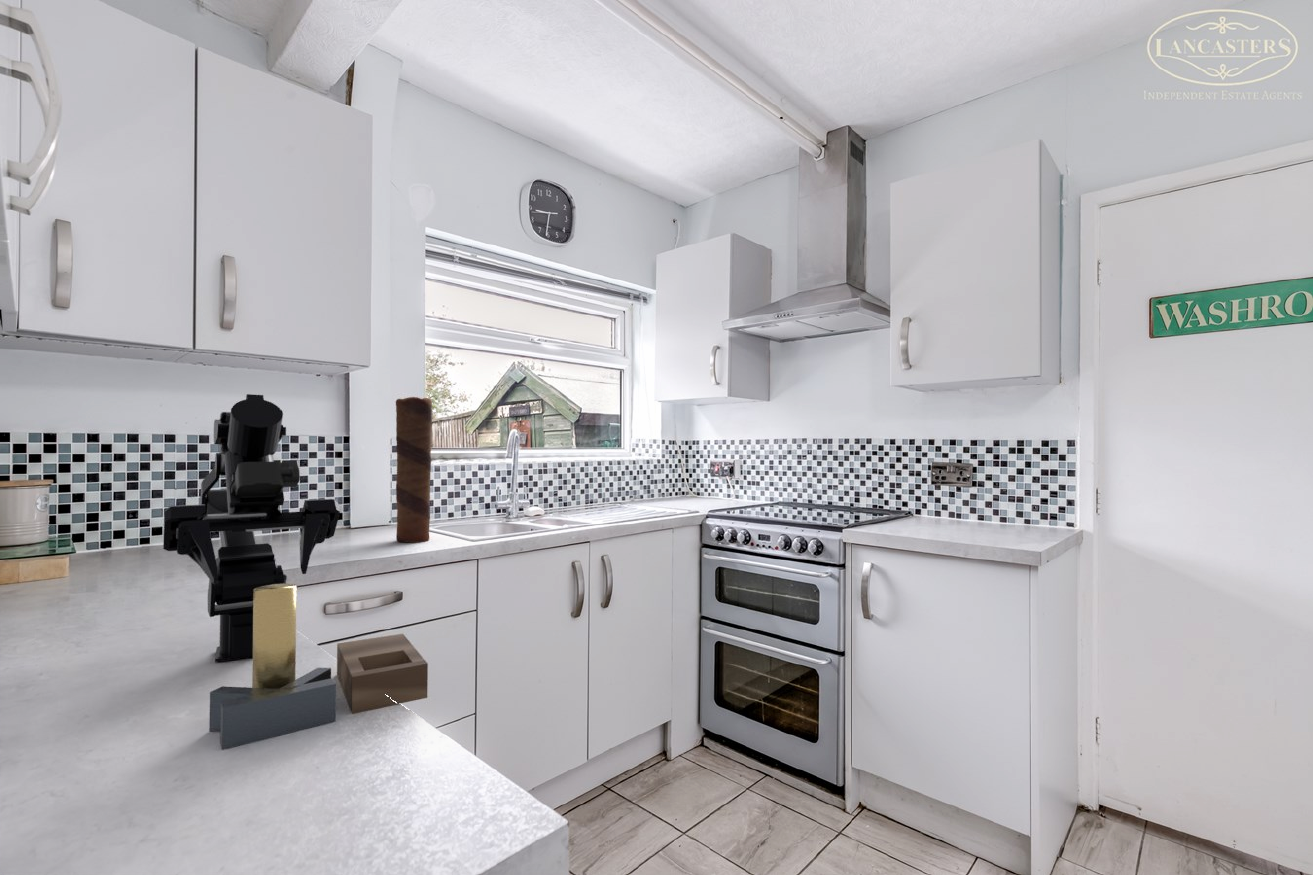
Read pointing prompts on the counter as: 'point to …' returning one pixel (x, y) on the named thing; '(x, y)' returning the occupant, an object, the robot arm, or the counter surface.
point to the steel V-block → (272, 709)
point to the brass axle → (274, 636)
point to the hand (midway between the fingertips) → (261, 576)
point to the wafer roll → (413, 468)
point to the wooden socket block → (381, 672)
